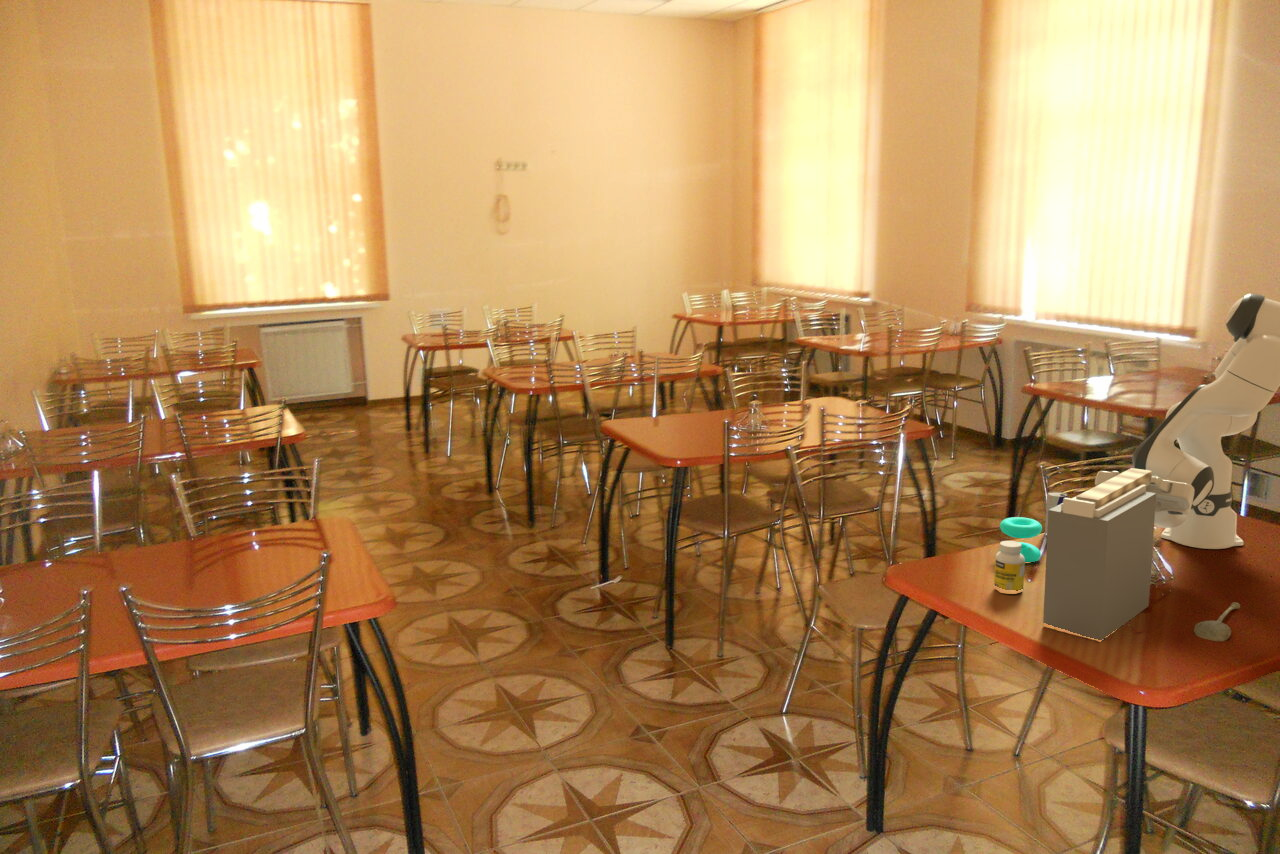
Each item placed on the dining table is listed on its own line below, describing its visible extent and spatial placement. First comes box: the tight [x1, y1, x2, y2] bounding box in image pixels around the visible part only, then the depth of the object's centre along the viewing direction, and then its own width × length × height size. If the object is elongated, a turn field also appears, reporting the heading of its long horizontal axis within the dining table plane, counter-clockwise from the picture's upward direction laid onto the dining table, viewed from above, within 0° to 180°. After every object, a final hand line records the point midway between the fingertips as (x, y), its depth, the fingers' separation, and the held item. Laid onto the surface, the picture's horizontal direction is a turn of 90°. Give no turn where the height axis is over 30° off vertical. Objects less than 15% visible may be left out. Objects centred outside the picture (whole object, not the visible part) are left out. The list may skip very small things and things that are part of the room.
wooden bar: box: [1076, 467, 1152, 510], centre depth 209 cm, size 30×4×3 cm, turn 134°
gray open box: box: [1042, 484, 1156, 640], centre depth 209 cm, size 26×12×29 cm, turn 133°
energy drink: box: [1044, 491, 1069, 534], centre depth 264 cm, size 5×5×12 cm
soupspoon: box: [1193, 601, 1241, 642], centre depth 206 cm, size 22×3×7 cm
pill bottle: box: [993, 540, 1026, 591], centre depth 227 cm, size 6×6×12 cm
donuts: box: [998, 516, 1043, 563], centre depth 248 cm, size 10×10×10 cm
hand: (1133, 477), depth 217 cm, fingers open, 7 cm apart
